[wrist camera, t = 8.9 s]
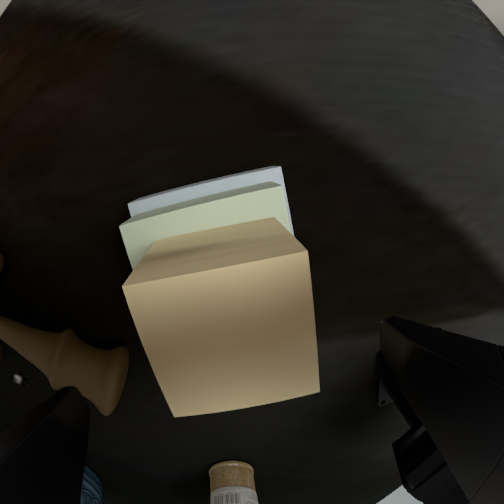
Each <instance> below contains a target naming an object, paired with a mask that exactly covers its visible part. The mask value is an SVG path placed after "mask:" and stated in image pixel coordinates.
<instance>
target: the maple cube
mask: <svg viewBox="0 0 504 504" xmlns="http://www.w3.org/2000/svg"><path fill="white" fill-rule="evenodd" d="M122 288H123V291H124V294H125V297H126V300H127V303H128V306H129V309H130V312H131V315H132V318H133V320H134V323H135V326H136V329H137V331H138V334H139V337H140V339H141V342H142V344H143V347H144V349H145V352H146V354H147V357H148V359H149V362H150V364H151V367H152V369H153V371H154V374H155V376H156V378H157V381H158V383H159V385H160V387H161V390H162V392H163V394H164V396H165V399H166V401H167V403H168V405H169V407H170V409H171V411H172V413H173V415H174V417H182V416H192V415H201V414H209V413H216V412H223V411H230V410H236V409H242V408H248V407H253V406H259V405H264V404H269V403H274V402H279V401H283V400H288V399H292V398H297V397H301V396H305V395H309V394H313V393H317V392H320V386H319V370H318V355H317V341H316V329H315V317H314V306H313V296H312V285H311V276H310V267H309V258H308V251H307V250H306V249H305V248H304V246H303V245H302V244H301V243H300V242H299V241H298V240H297V239H296V238H295V237H294V236H293V235H292V234H291V233H290V232H289V231H288V230H287V229H286V228H285V227H284V226H283V225H282V224H281V223H280V222H279V221H278V220H277V219H276V218H275V217H271V218H265V219H260V220H255V221H249V222H244V223H238V224H233V225H228V226H223V227H218V228H212V229H207V230H202V231H197V232H192V233H187V234H182V235H177V236H173V237H168V238H163V239H158V240H156V241H155V242H154V243H153V245H152V246H151V247H150V249H149V250H148V251H147V253H146V254H145V255H144V257H143V258H142V259H141V261H140V262H139V263H138V265H137V266H136V267H135V269H134V270H133V271H132V273H131V274H130V276H129V277H128V278H127V280H126V281H125V283H124V284H123V285H122Z"/></svg>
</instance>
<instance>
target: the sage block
mask: <svg viewBox="0 0 504 504" xmlns="http://www.w3.org/2000/svg"><path fill="white" fill-rule="evenodd" d="M271 217H275V218H276V219H277V220H278V221H279V222H280V223H281V224H282V225H283V226H284V227H285V228H286V229H287V230H288V231H289V232H290V233H291V228H290V222H289V217H288V212H287V206H286V201H285V196H284V191H283V186H282V185H280V184H277V183H275V182H272V181H268V182H263V183H259V184H254V185H250V186H245V187H241V188H236V189H232V190H228V191H223V192H219V193H215V194H211V195H207V196H203V197H198V198H195V199H191V200H187V201H183V202H179V203H175V204H171V205H167V206H164V207H160V208H156V209H153V210H149V211H145V212H142V213H138V214H136V215H134V216H133V217H131V218H130V219H128V220H127V221H125V222H124V223H123V224H121V225H120V226H119V228H120V231H121V234H122V238H123V241H124V244H125V247H126V251H127V254H128V257H129V260H130V263H131V266H132V269H133V270H134V269H135V267H136V266H137V265H138V263H139V262H140V261H141V259H142V258H143V257H144V255H145V254H146V253H147V251H148V250H149V249H150V247H151V246H152V245H153V243H154V242H155V241H156V240H158V239H163V238H168V237H173V236H177V235H182V234H187V233H192V232H197V231H202V230H207V229H212V228H218V227H223V226H228V225H233V224H238V223H244V222H249V221H255V220H260V219H265V218H271ZM291 234H292V233H291Z"/></svg>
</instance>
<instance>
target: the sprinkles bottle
mask: <svg viewBox="0 0 504 504" xmlns="http://www.w3.org/2000/svg"><path fill="white" fill-rule="evenodd" d="M253 475H254V470H253V468H252V466H250V465H249V464H247V463H245V462H241V461H235V460H231V461H223V462H220V463H217V464H215V465H213V466H212V467H211V468H210V470H209V476H210V489H211V491H210V492H211V498H210V504H258V500H257V494H256V491H255V484H254V477H253Z"/></svg>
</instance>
